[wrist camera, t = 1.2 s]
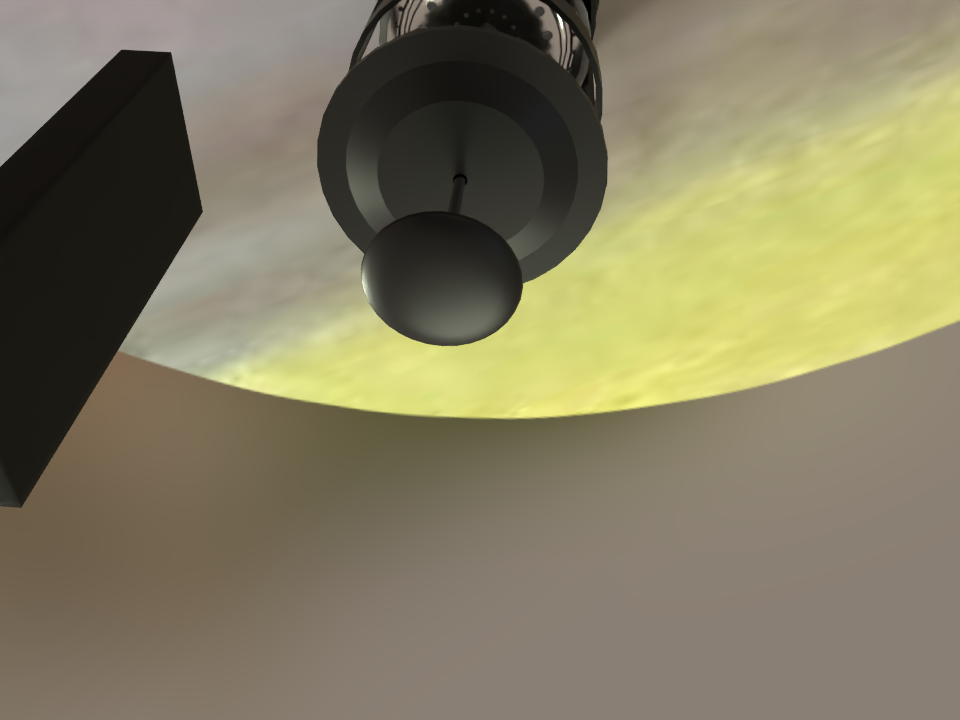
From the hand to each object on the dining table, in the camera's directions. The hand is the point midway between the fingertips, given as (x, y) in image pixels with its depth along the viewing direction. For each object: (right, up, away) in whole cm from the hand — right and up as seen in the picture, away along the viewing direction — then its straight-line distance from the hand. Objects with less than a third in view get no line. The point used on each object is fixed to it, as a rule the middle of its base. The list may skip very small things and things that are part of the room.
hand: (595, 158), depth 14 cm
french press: (-1, +13, +27) cm, 30 cm away
